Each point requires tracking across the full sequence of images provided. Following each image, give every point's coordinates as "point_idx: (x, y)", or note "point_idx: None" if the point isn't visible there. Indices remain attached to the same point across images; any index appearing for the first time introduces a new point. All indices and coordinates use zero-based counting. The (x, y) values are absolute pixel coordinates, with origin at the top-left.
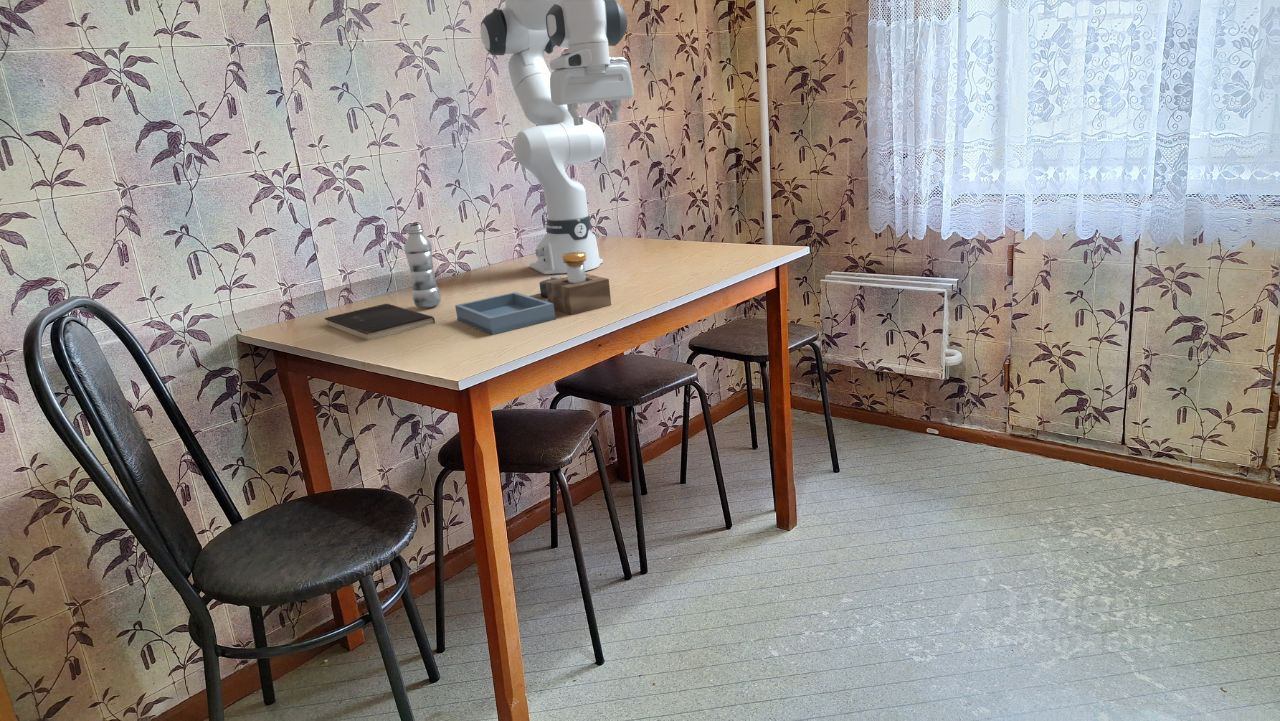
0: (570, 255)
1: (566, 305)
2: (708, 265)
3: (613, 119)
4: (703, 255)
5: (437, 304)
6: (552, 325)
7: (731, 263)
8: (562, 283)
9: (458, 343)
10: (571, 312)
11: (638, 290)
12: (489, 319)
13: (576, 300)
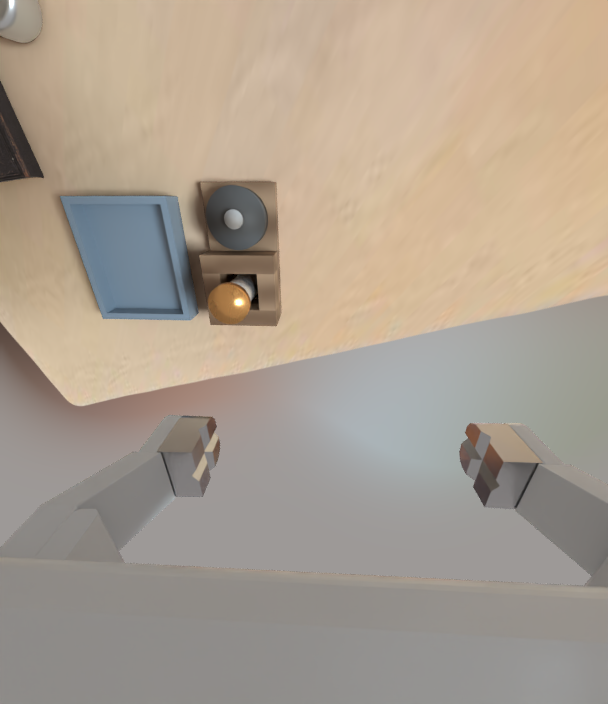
0: (219, 309)
1: None
2: (557, 222)
3: (466, 469)
4: None
5: (39, 33)
6: (186, 332)
7: (582, 248)
8: None
9: (76, 310)
10: None
11: (355, 274)
12: (103, 316)
13: None
